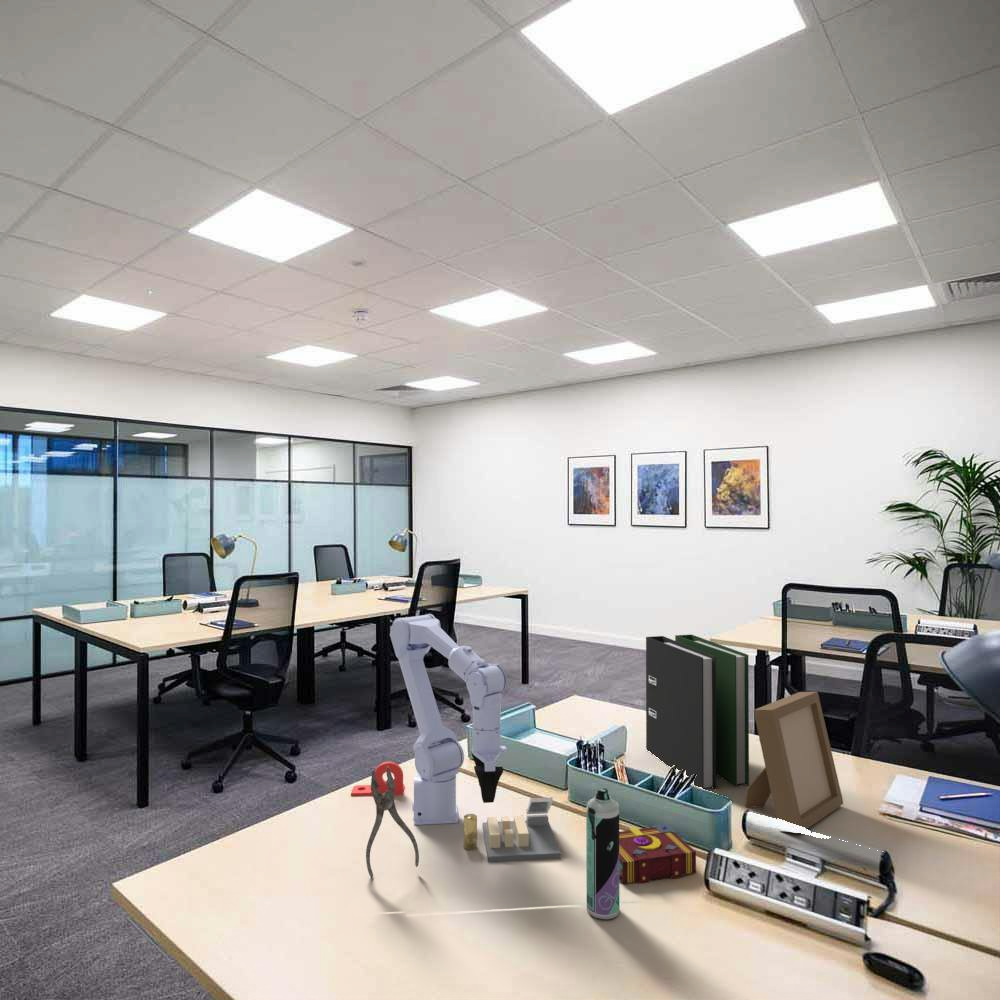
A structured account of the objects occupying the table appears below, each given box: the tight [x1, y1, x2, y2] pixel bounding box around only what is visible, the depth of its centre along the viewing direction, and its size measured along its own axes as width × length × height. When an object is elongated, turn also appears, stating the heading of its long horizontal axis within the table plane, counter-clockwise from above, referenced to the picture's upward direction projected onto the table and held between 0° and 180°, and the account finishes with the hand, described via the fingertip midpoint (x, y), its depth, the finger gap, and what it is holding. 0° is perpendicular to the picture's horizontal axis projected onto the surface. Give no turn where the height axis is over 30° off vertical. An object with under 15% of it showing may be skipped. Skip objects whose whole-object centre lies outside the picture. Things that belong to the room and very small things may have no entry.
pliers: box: [365, 766, 420, 879], centre depth 123 cm, size 10×1×20 cm, turn 101°
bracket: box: [350, 761, 405, 797], centre depth 159 cm, size 12×4×8 cm, turn 93°
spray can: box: [585, 788, 620, 920], centre depth 113 cm, size 6×6×20 cm
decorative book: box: [619, 823, 697, 885], centre depth 127 cm, size 11×16×5 cm
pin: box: [463, 813, 478, 851], centre depth 133 cm, size 3×3×6 cm
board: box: [481, 814, 561, 863], centre depth 135 cm, size 14×14×4 cm
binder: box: [645, 634, 750, 791], centre depth 174 cm, size 27×15×32 cm, turn 15°
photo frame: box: [744, 691, 844, 829], centre depth 150 cm, size 15×22×25 cm
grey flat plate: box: [526, 796, 554, 815], centre depth 139 cm, size 4×8×1 cm
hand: (486, 793), depth 136 cm, fingers open, 7 cm apart
